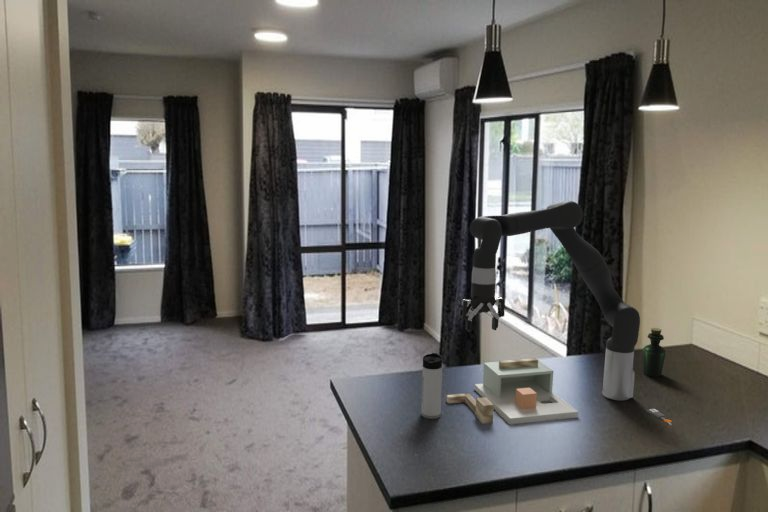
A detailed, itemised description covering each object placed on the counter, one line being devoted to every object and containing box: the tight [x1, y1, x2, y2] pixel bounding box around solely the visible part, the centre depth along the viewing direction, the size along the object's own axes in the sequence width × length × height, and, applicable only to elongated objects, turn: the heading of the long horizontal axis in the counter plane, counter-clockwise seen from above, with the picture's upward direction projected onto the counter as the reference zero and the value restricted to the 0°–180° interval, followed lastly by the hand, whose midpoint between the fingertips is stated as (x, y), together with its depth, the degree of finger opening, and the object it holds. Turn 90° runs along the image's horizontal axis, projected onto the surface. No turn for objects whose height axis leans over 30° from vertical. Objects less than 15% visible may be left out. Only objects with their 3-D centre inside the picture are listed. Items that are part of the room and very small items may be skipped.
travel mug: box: [421, 352, 443, 420], centre depth 196 cm, size 6×7×20 cm
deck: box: [473, 359, 579, 425], centre depth 208 cm, size 24×29×10 cm
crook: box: [446, 392, 494, 425], centre depth 200 cm, size 9×19×6 cm, turn 14°
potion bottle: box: [642, 327, 667, 378], centre depth 236 cm, size 8×8×18 cm
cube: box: [515, 388, 537, 409], centre depth 201 cm, size 5×5×5 cm
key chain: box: [646, 408, 672, 426], centre depth 197 cm, size 13×4×2 cm, turn 18°
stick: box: [498, 357, 539, 369], centre depth 215 cm, size 14×2×2 cm, turn 104°
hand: (481, 330), depth 195 cm, fingers open, 8 cm apart
